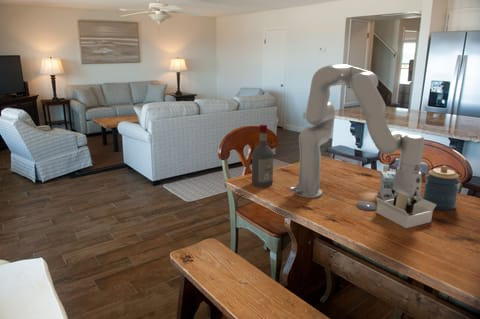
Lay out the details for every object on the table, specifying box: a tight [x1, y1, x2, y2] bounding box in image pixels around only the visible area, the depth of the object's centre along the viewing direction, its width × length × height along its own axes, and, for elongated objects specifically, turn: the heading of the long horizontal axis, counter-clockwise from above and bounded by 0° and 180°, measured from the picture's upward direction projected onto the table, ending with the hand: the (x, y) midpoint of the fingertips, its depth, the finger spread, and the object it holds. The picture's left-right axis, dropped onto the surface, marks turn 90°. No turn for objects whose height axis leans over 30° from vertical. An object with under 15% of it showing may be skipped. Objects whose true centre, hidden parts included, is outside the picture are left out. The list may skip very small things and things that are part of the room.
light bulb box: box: [378, 170, 396, 201], centre depth 165 cm, size 11×7×11 cm, turn 168°
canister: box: [422, 165, 461, 211], centre depth 155 cm, size 13×13×18 cm
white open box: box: [374, 196, 436, 229], centre depth 145 cm, size 16×15×7 cm
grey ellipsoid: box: [356, 200, 377, 212], centre depth 156 cm, size 8×8×1 cm
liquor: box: [251, 124, 275, 188], centre depth 178 cm, size 9×9×30 cm
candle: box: [396, 193, 412, 216], centre depth 144 cm, size 6×6×10 cm
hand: (402, 209), depth 145 cm, fingers closed on candle, 5 cm apart
